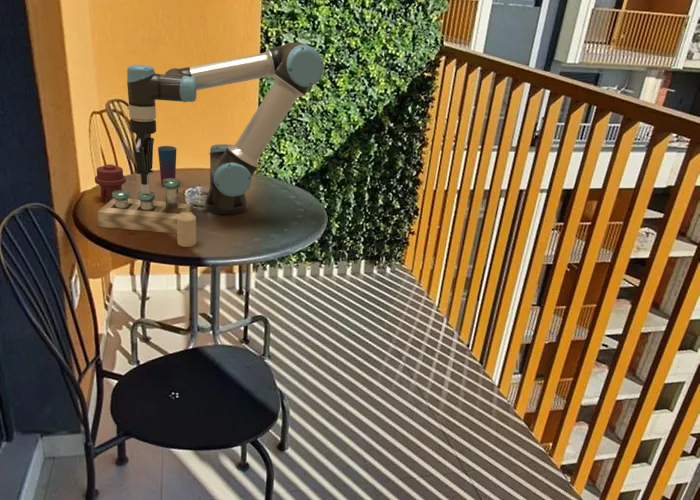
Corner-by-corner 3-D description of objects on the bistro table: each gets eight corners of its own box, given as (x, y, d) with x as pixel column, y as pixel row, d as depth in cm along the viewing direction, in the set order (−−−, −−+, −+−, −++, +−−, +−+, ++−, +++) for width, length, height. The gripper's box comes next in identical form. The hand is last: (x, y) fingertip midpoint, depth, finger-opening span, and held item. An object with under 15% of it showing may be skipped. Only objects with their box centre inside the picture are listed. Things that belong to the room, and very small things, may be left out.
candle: (186, 248, 161) (185, 217, 157) (173, 243, 164) (172, 212, 160) (200, 243, 166) (199, 213, 162) (187, 238, 168) (186, 208, 164)
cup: (174, 189, 209) (173, 151, 203) (156, 187, 209) (155, 149, 202) (179, 183, 215) (178, 146, 209) (162, 182, 215) (161, 144, 209)
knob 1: (133, 215, 178) (132, 190, 175) (128, 220, 173) (126, 195, 170) (117, 213, 178) (115, 189, 174) (111, 219, 173) (109, 194, 170)
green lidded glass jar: (158, 216, 178) (157, 192, 175) (153, 222, 174) (152, 197, 170) (142, 215, 178) (140, 190, 175) (136, 220, 173) (135, 195, 170)
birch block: (193, 218, 184) (192, 204, 182) (182, 233, 171) (182, 219, 169) (115, 211, 182) (114, 197, 180) (98, 226, 169) (97, 211, 167)
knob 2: (182, 203, 177) (181, 179, 174) (178, 209, 172) (177, 183, 169) (166, 202, 177) (165, 177, 173) (161, 207, 172) (160, 182, 168)
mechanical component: (132, 197, 195) (116, 206, 186) (107, 193, 197) (90, 201, 188) (130, 164, 190) (114, 171, 181) (105, 160, 192) (87, 167, 183)
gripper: (137, 113, 169) (140, 185, 178) (122, 121, 157) (126, 198, 166) (161, 116, 169) (163, 188, 179) (148, 124, 157) (151, 200, 167)
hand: (146, 193), depth 172 cm, fingers closed
